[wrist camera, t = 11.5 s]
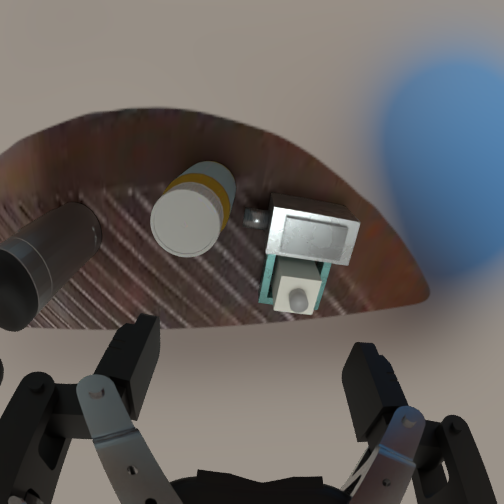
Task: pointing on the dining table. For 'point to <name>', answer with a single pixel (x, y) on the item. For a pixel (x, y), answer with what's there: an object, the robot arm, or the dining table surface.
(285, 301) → the white cube with peg
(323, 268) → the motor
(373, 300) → the dining table surface
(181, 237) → the bottle
